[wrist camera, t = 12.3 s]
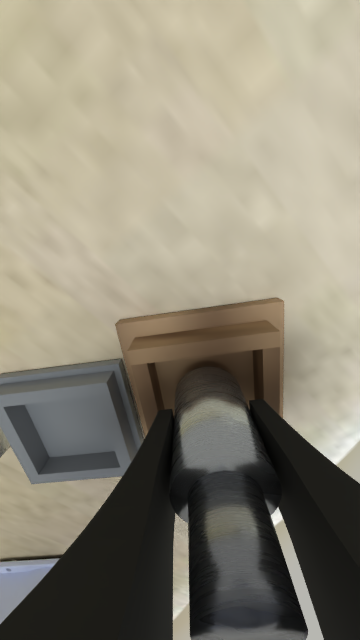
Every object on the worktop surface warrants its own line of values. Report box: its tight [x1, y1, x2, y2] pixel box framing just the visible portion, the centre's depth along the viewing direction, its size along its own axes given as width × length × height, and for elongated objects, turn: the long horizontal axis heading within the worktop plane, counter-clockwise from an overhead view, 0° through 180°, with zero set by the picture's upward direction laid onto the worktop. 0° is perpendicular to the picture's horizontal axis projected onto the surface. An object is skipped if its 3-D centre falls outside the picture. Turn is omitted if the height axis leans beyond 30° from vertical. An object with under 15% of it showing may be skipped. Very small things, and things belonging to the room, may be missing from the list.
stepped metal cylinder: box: [169, 366, 308, 640], centre depth 8 cm, size 4×4×8 cm
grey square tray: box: [0, 359, 144, 484], centre depth 13 cm, size 8×8×2 cm
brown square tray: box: [115, 298, 284, 437], centre depth 12 cm, size 9×9×2 cm
